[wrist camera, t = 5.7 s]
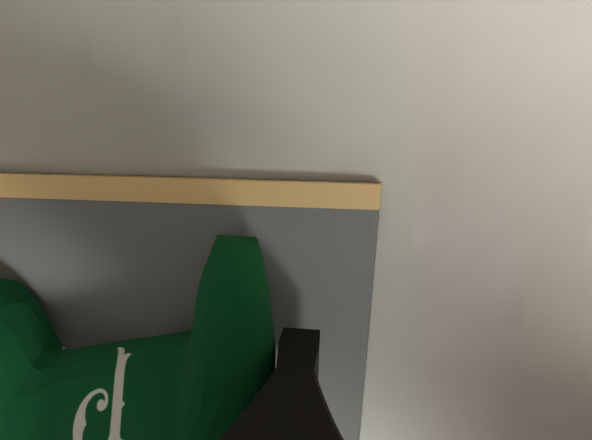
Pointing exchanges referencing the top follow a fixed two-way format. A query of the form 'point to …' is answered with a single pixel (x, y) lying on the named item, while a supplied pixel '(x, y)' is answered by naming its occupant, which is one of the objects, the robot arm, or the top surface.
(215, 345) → the gaming controller
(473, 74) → the top surface
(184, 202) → the tray
